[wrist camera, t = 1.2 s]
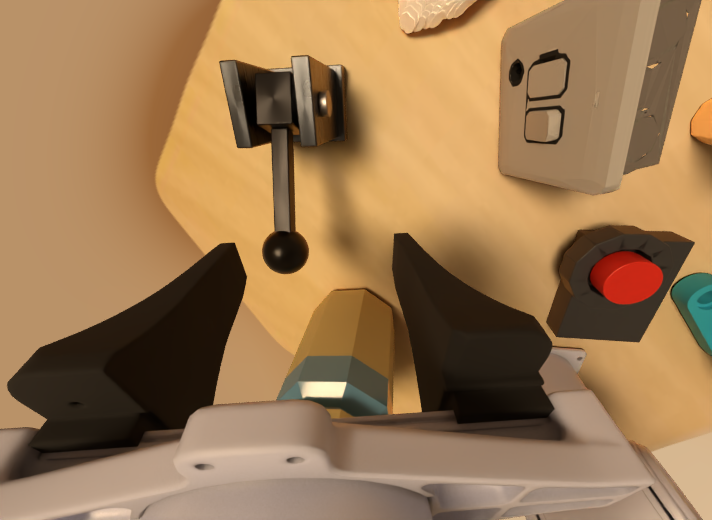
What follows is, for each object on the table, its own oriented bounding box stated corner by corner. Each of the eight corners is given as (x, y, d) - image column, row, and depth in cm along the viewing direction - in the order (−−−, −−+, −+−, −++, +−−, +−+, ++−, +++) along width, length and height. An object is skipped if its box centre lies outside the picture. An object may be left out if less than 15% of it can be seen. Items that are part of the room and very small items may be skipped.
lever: (314, 270, 21) (300, 279, 18) (274, 268, 21) (254, 277, 18) (311, 90, 19) (296, 67, 16) (268, 92, 19) (244, 70, 16)
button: (633, 292, 23) (650, 306, 21) (582, 290, 23) (596, 303, 22) (653, 251, 21) (673, 262, 19) (599, 250, 21) (614, 260, 20)
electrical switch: (499, 31, 19) (598, -32, 11) (582, 11, 19) (755, -71, 10) (495, 173, 23) (566, 205, 15) (564, 160, 23) (676, 187, 14)
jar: (299, 302, 32) (229, 436, 19) (370, 270, 29) (345, 404, 16) (342, 357, 35) (308, 506, 22) (411, 334, 32) (418, 490, 19)
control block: (623, 326, 28) (654, 357, 25) (527, 321, 29) (544, 350, 26) (679, 216, 23) (729, 236, 19) (559, 215, 24) (587, 233, 21)
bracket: (347, 139, 24) (325, 152, 17) (277, 141, 24) (230, 153, 18) (344, 66, 21) (318, 46, 14) (267, 71, 22) (208, 54, 15)
